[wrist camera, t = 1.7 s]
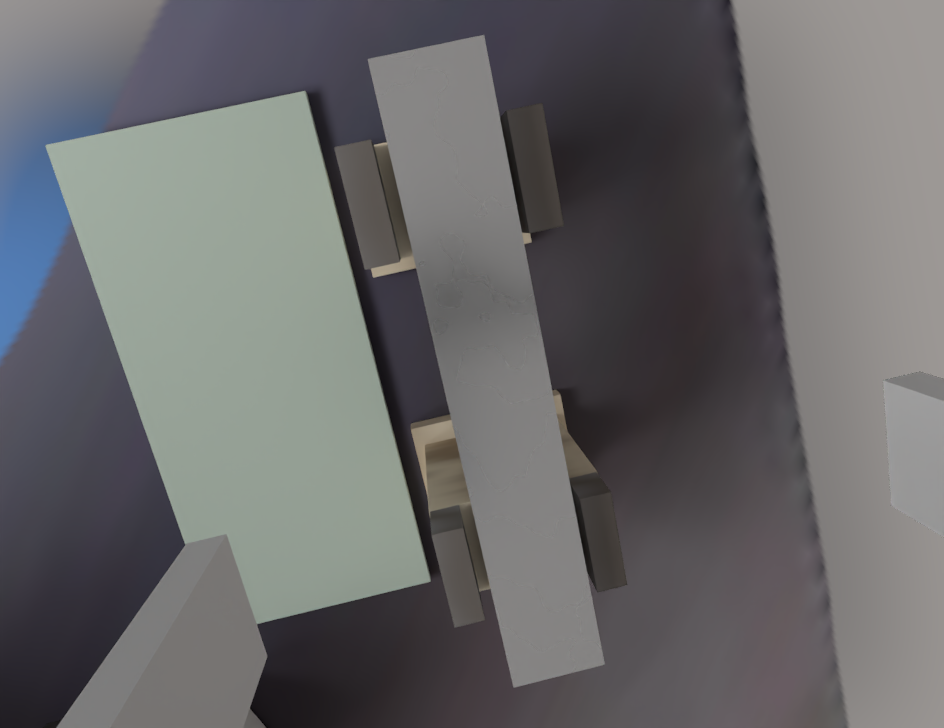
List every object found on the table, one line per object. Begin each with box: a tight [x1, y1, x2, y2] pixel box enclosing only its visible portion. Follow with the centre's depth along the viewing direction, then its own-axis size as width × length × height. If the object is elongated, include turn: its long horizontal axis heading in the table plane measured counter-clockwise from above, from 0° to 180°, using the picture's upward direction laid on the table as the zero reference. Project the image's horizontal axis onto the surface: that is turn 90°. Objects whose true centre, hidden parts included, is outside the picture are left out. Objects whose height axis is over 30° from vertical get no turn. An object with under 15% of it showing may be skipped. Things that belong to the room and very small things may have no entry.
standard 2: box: [334, 103, 564, 278], centre depth 27 cm, size 8×6×11 cm
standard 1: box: [411, 390, 627, 628], centre depth 30 cm, size 8×6×11 cm
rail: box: [368, 35, 605, 687], centre depth 23 cm, size 22×4×4 cm, turn 12°
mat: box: [46, 91, 431, 624], centre depth 33 cm, size 12×26×1 cm, turn 12°
